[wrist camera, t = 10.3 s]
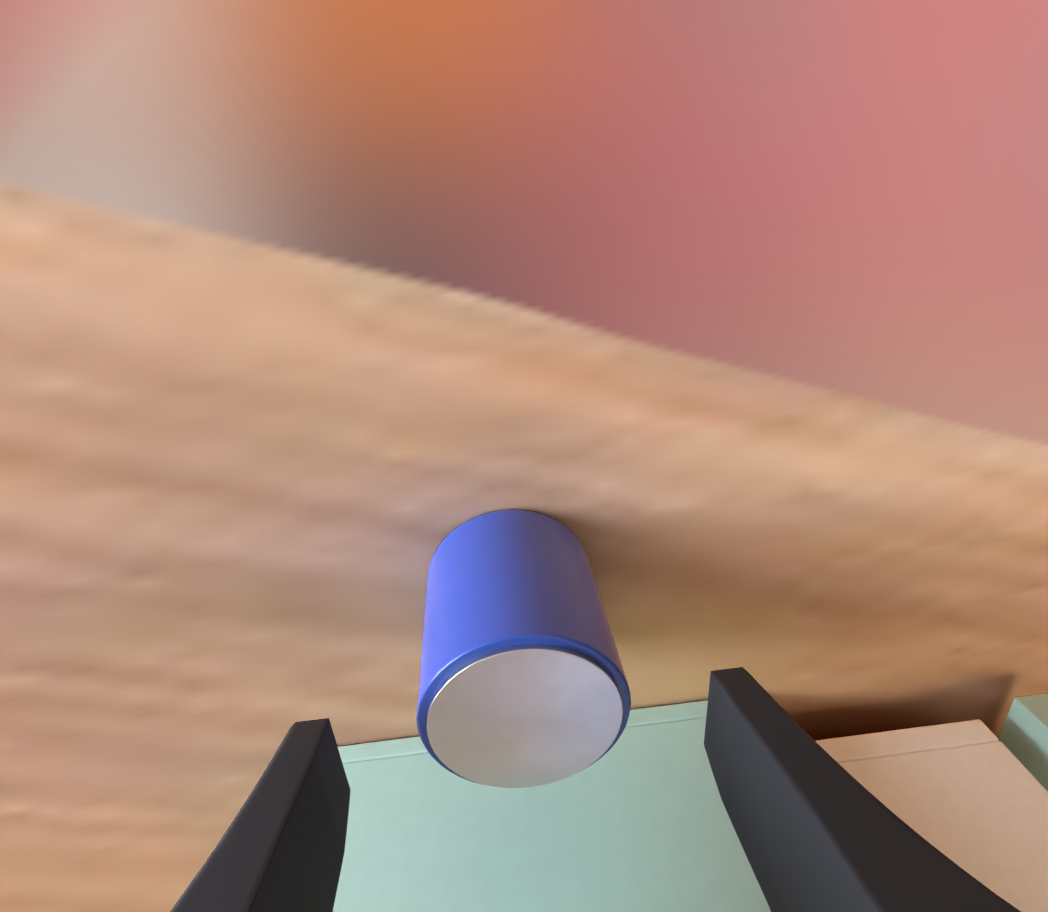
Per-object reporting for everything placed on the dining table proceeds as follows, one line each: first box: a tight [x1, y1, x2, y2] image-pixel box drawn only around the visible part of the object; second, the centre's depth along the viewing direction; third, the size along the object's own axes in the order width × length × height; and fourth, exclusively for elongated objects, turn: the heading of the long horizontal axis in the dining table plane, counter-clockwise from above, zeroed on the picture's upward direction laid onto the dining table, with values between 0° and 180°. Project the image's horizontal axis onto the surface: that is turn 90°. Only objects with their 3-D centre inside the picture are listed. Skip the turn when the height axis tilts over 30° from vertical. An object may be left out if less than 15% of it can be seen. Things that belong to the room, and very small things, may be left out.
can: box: [417, 510, 631, 788], centre depth 14 cm, size 4×4×4 cm
